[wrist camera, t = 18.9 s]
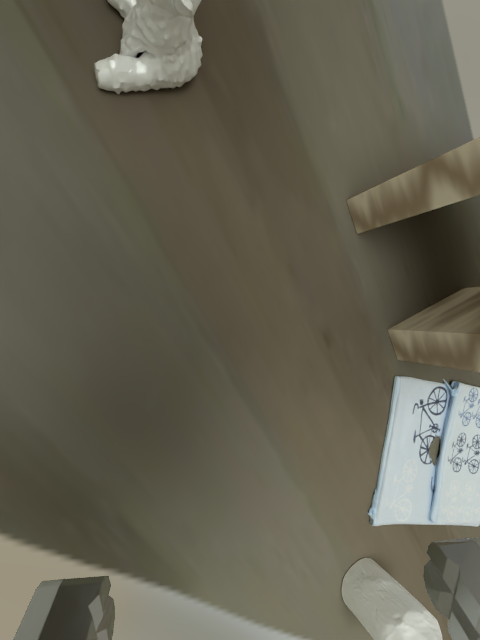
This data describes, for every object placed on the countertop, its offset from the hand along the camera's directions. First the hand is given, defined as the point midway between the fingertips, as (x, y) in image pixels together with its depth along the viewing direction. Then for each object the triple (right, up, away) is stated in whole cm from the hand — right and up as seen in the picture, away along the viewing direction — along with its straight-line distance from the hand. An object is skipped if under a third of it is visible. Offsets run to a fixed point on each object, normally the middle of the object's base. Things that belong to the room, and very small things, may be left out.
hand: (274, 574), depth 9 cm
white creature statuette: (-9, +30, +24) cm, 40 cm away
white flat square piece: (+25, -10, +38) cm, 46 cm away
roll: (+13, -24, +33) cm, 43 cm away
